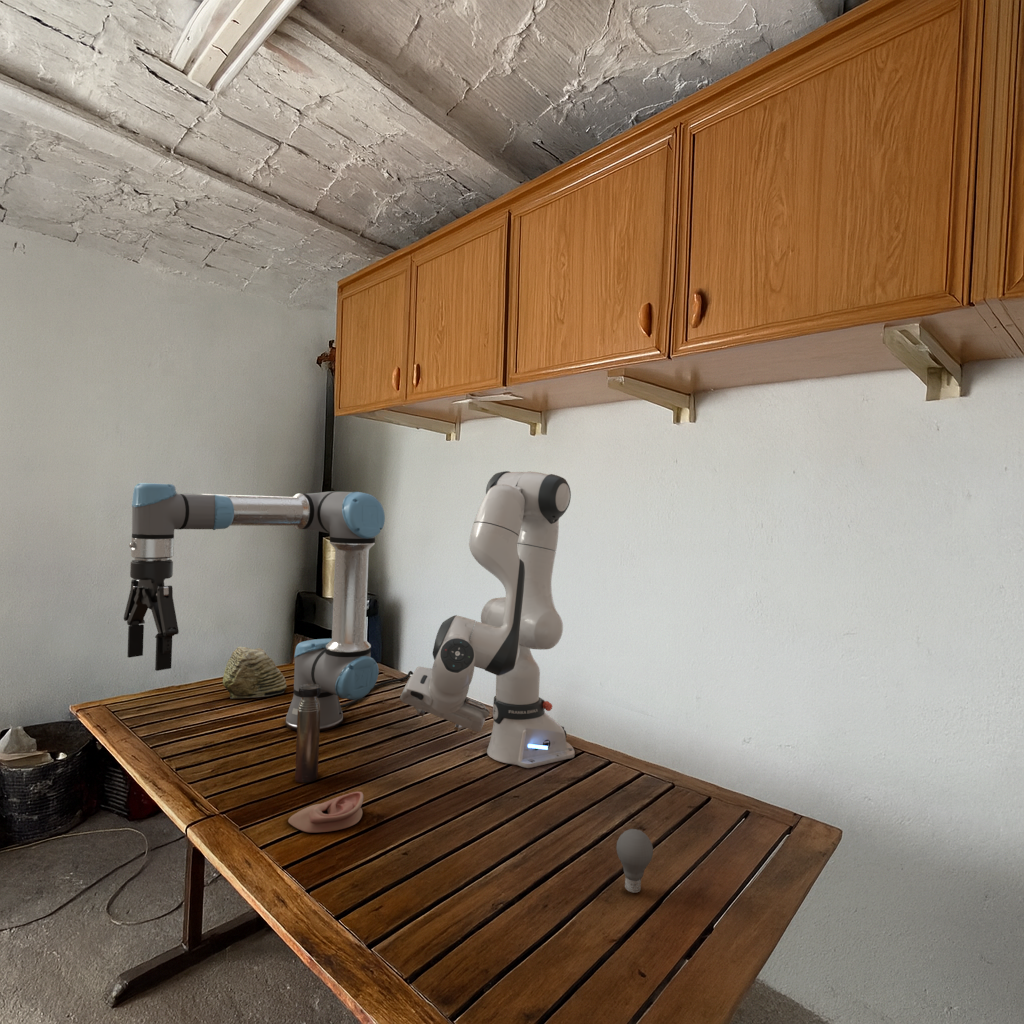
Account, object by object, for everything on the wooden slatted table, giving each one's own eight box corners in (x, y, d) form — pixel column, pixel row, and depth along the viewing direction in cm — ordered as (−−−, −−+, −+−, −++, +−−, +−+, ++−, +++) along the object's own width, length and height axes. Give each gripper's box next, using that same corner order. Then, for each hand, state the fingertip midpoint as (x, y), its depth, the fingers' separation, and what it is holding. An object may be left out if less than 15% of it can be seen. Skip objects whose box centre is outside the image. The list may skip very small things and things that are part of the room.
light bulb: (610, 879, 108) (613, 822, 108) (644, 879, 109) (647, 822, 109) (619, 902, 102) (622, 840, 102) (655, 901, 103) (658, 840, 103)
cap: (296, 692, 143) (296, 684, 143) (317, 690, 145) (317, 682, 145) (301, 698, 139) (301, 690, 139) (322, 696, 141) (323, 688, 141)
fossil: (218, 695, 195) (220, 647, 195) (278, 685, 208) (279, 640, 207) (228, 703, 189) (230, 653, 188) (289, 692, 201) (290, 645, 201)
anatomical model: (280, 807, 120) (311, 781, 131) (279, 828, 120) (310, 800, 131) (344, 817, 117) (370, 790, 129) (343, 838, 118) (370, 809, 129)
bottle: (292, 775, 143) (296, 686, 143) (314, 771, 146) (318, 684, 145) (297, 784, 139) (301, 692, 138) (320, 780, 141) (323, 689, 141)
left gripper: (108, 554, 134) (104, 654, 134) (159, 565, 118) (155, 678, 119) (146, 552, 140) (143, 648, 140) (199, 563, 124) (195, 671, 124)
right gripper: (495, 697, 142) (484, 725, 152) (411, 663, 144) (406, 693, 153) (486, 721, 138) (475, 749, 147) (399, 686, 139) (395, 716, 149)
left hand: (148, 662), depth 129 cm, fingers open, 13 cm apart
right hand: (439, 720), depth 150 cm, fingers open, 8 cm apart
